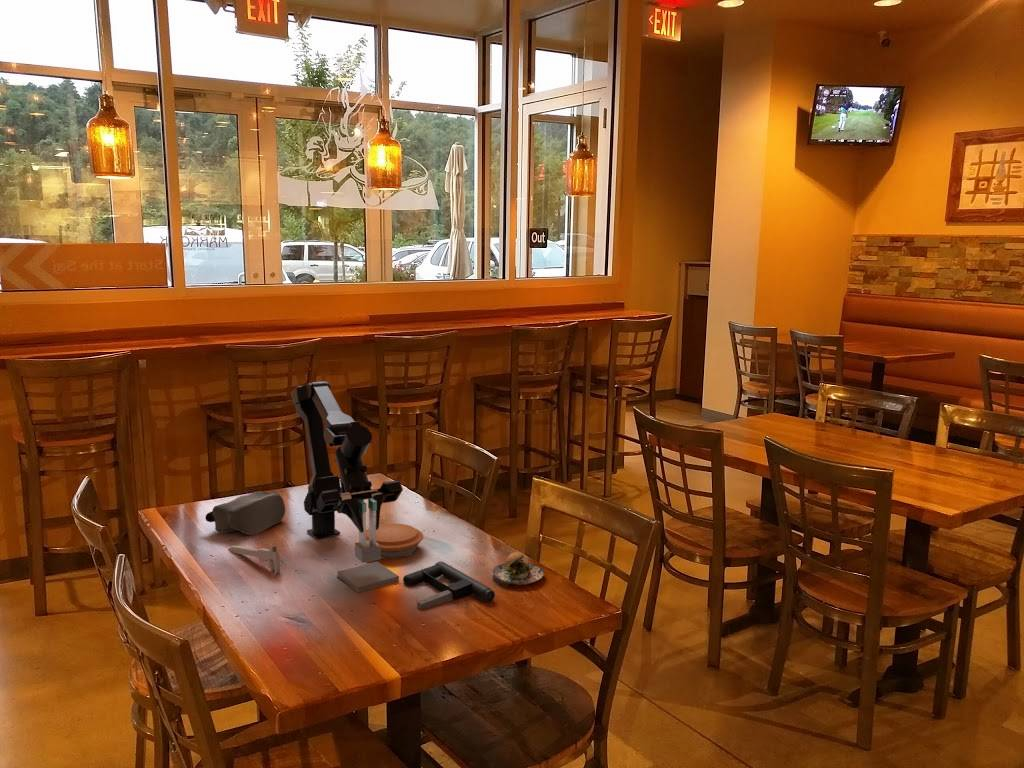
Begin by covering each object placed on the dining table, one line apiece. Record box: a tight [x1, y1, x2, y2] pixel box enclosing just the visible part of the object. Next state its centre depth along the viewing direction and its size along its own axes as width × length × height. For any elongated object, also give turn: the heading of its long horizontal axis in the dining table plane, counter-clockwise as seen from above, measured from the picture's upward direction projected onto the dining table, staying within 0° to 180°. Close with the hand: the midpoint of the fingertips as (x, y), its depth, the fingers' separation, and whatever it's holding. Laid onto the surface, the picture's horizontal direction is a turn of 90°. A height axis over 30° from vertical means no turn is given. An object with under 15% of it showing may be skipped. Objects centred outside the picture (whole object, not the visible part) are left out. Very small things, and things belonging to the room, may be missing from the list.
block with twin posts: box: [354, 498, 382, 563], centre depth 180 cm, size 4×4×13 cm
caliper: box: [227, 545, 281, 574], centre depth 190 cm, size 21×1×6 cm, turn 49°
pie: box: [366, 523, 424, 559], centre depth 199 cm, size 16×16×5 cm
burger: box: [491, 545, 546, 589], centre depth 184 cm, size 12×12×8 cm
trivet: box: [336, 561, 400, 593], centre depth 182 cm, size 10×10×1 cm
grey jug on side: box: [205, 490, 286, 536], centre depth 212 cm, size 20×12×8 cm, turn 153°
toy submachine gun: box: [402, 561, 496, 610], centre depth 176 cm, size 3×20×16 cm
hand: (369, 530), depth 179 cm, fingers closed on block with twin posts, 3 cm apart
